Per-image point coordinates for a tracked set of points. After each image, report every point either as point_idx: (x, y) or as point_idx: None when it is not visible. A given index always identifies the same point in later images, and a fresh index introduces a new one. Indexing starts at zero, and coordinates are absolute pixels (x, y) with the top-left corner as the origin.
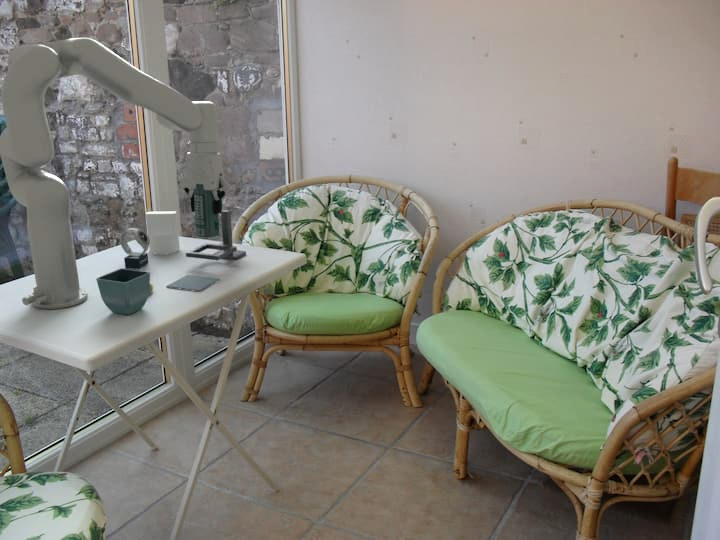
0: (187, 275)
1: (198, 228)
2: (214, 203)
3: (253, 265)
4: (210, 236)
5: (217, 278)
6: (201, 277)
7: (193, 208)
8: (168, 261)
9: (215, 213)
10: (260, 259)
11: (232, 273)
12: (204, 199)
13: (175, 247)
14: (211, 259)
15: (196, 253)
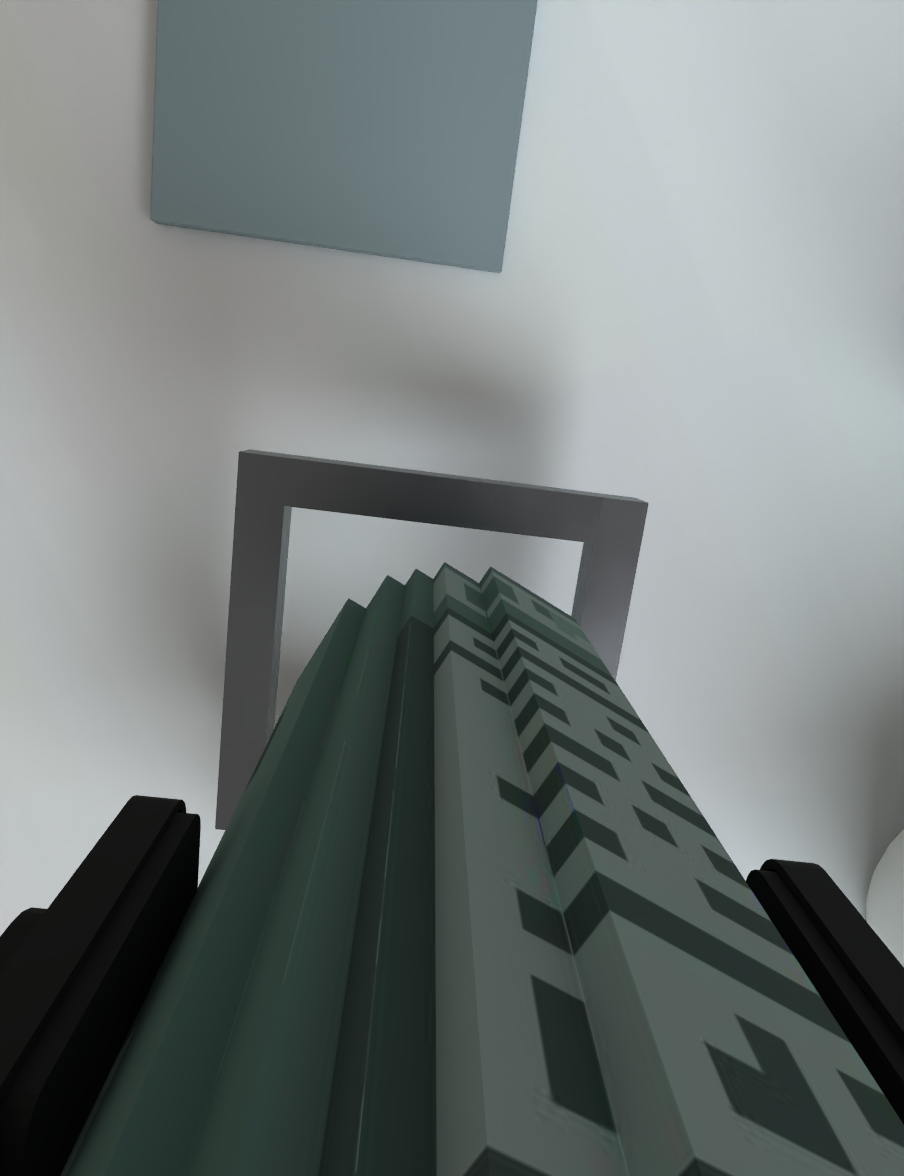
0: (493, 239)
1: (538, 620)
2: (5, 1006)
3: (65, 689)
4: (348, 602)
5: (172, 212)
6: (336, 209)
7: (792, 911)
8: (841, 628)
9: (133, 801)
10: (87, 851)
11: (136, 435)
12: (343, 1044)
13: (899, 896)
14: (331, 460)
15: (520, 500)
